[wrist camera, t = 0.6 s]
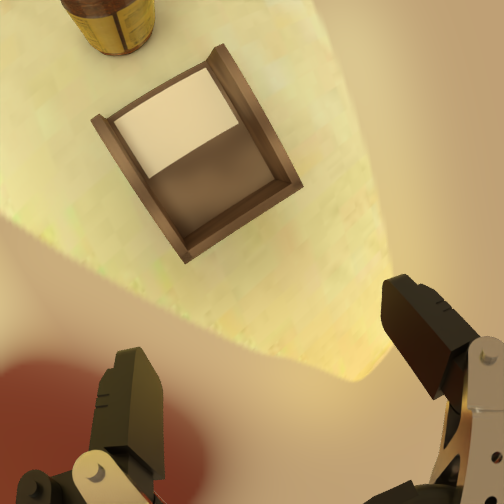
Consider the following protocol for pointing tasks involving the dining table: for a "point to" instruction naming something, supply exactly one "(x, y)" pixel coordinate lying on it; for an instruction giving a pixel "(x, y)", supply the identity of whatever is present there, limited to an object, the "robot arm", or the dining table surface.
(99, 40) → the sauce bottle
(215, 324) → the dining table surface
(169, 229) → the box
